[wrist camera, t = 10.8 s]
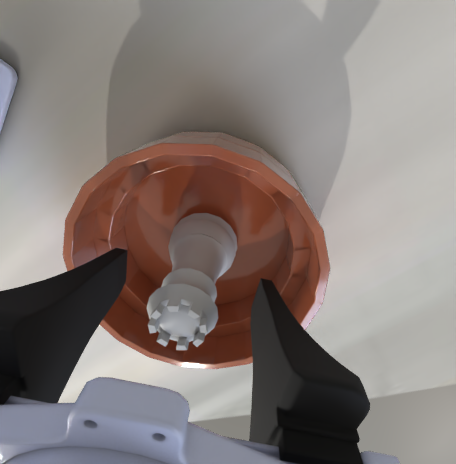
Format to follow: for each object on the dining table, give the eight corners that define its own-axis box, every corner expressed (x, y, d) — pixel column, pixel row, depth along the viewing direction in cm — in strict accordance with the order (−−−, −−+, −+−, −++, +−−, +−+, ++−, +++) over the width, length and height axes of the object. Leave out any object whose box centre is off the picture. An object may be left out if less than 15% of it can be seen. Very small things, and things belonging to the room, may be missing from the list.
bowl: (76, 249, 20) (27, 292, 16) (174, 75, 15) (142, 66, 10) (227, 339, 23) (221, 397, 19) (354, 222, 18) (390, 264, 13)
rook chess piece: (201, 277, 20) (174, 378, 13) (159, 233, 19) (103, 318, 12) (251, 246, 19) (252, 340, 11) (209, 196, 17) (180, 266, 10)
